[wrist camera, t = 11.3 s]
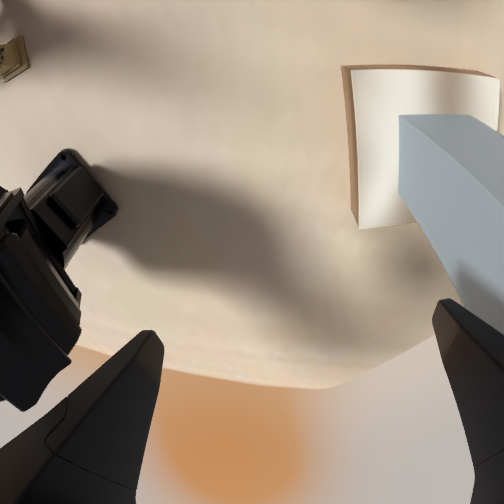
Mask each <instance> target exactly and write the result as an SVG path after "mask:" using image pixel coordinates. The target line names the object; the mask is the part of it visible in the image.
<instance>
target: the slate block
mask: <svg viewBox="0 0 504 504" xmlns="http://www.w3.org/2000/svg"><path fill="white" fill-rule="evenodd" d="M398 116H399V178H398V194H399V195H400V197H401V198H402V200H403V201H404V203H405V204H406V206H407V207H408V209H409V210H410V212H411V213H412V215H413V216H414V218H415V220H416V221H417V223H418V224H419V226H420V227H421V229H422V231H423V232H424V234H425V236H426V237H427V239H428V241H429V242H430V244H431V246H432V247H433V249H434V251H435V252H436V254H437V256H438V258H439V259H440V261H441V263H442V265H443V266H444V268H445V270H446V272H447V274H448V276H449V277H450V279H451V281H452V283H453V285H454V287H455V289H456V291H457V293H458V295H459V297H460V299H461V301H462V303H463V305H464V307H465V308H466V309H467V310H469V311H470V312H472V313H473V314H474V315H476V316H477V317H479V318H480V319H482V320H483V321H485V322H486V323H488V324H489V325H491V326H492V327H493V328H495V329H496V330H498V331H499V332H501V333H502V334H503V335H504V136H503V135H502V134H500V133H499V132H497V131H495V130H494V129H492V128H491V127H489V126H488V125H486V124H484V123H483V122H481V121H479V120H478V119H476V118H474V117H472V116H471V115H458V114H412V115H398Z"/></svg>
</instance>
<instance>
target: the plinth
mask: <svg viewBox="0 0 504 504" xmlns="http://www.w3.org/2000/svg"><path fill="white" fill-rule="evenodd" d="M341 70H342V78H343V87H344V96H345V106H346V117H347V129H348V143H349V160H350V182H351V210H352V212H353V214H354V217H355V219H356V222H357V224H358V227H359V229H367V228H375V227H384V226H392V225H400V224H408V223H417V221H416V220H415V218H414V216H413V215H412V213H411V212H410V210H409V209H408V207H407V206H406V204H405V203H404V201H403V200H402V198H401V197H400V195H399V194H398V178H399V116H398V115H412V114H458V115H471V116H472V117H474V118H476V119H478V120H479V121H481V122H483V123H484V124H486V125H488V126H489V127H491V128H492V129H494V130H495V131H497V128H498V115H499V96H500V79H498V78H496V77H493V76H490V75H487V74H485V73H482V72H479V71H472V70H465V69H456V68H446V67H433V66H416V65H351V66H341Z"/></svg>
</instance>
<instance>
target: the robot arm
mask: <svg viewBox="0 0 504 504" xmlns="http://www.w3.org/2000/svg"><path fill="white" fill-rule="evenodd" d="M63 154H64V155H65V156H66V158H65V157H64V156H63ZM109 208H110V209H112V210H113V211H111V210H110V209H109ZM117 212H118V207H117V206H116V204H115V203H114V202H113V201H112V200H111V199H110V198H109V196H108V195H107V194H106V193H105V192H104V191H103V190H102V189H101V187H100V186H99V185H98V184H97V183H96V182H95V180H94V179H93V178H92V177H91V176H90V175H89V173H88V172H87V171H86V170H85V169H84V168H83V166H82V165H81V164H80V163H79V162H78V160H77V159H76V158H75V157H74V156H73V154H72V153H71V152H70V151H69V150H67V149H63V150H62V151H61V152H59V154H58V155H57V156H56V157H55V158H54V159H53V160H52V162H51V163H50V164H49V165H48V166H47V167H46V169H45V170H44V171H43V172H42V173H41V175H40V176H39V177H38V178H37V180H36V181H35V182H34V183H33V185H32V186H31V187H30V188H29V190H28V191H27V193H26V195H25V196H24V193H23V191H22V189H21V188H18V189H16V190H13V191H10V192H8V190H5V189H4V188H2V187H1V186H0V402H1V401H5V400H7V401H9V402H10V403H11V404H12V405H14V406H15V407H16V408H18V409H19V410H20V411H22V412H23V411H26V410H28V409H29V408H31V407H32V406H34V405H35V404H36V403H37V402H38V400H39V398H40V397H41V395H42V393H43V391H44V390H45V388H46V387H47V385H48V384H49V382H50V381H51V380H52V379H53V378H54V377H55V376H56V375H57V373H58V372H60V371H61V370H63V369H64V368H65V367H67V366H68V365H69V364H71V359H70V358H69V357H68V355H69V353H70V352H71V350H72V349H73V347H74V346H75V344H76V343H77V341H78V339H79V336H80V334H81V330H82V329H81V327H80V326H79V325H80V317H81V311H80V301H81V292H80V291H79V289H78V288H77V287H75V285H74V284H73V282H72V281H71V279H70V278H69V276H68V275H67V273H66V272H65V268H66V267H67V265H68V264H69V262H70V260H71V259H72V257H73V256H74V254H75V252H76V251H77V249H78V248H79V246H80V245H81V243H82V242H83V240H84V239H86V238H87V237H88V236H90V235H91V234H92V233H93V232H95V231H96V230H97V229H98V228H100V227H101V226H102V225H104V224H105V223H106V222H108V221H109V220H110V219H111V218H113V217H114V216H115V215H116V214H117ZM432 323H433V328H434V331H435V335H436V339H437V342H438V346H439V350H440V354H441V358H442V362H443V365H444V368H445V371H446V373H447V376H448V379H449V382H450V385H451V388H452V391H453V394H454V397H455V400H456V403H457V406H458V410H459V413H460V416H461V420H462V423H463V427H464V430H465V434H466V438H467V442H468V445H469V450H470V453H471V458H472V462H473V466H474V472H475V482H474V488H473V494H472V498H471V502H470V504H504V335H503V334H502V333H501V332H499V331H498V330H496V329H495V328H493V327H492V326H491V325H489V324H488V323H486V322H485V321H483V320H482V319H480V318H479V317H477V316H476V315H474V314H473V313H472V312H470V311H469V310H467V309H466V308H464V307H463V306H461V305H460V304H458V303H456V302H455V301H453V300H452V299H450V298H447V299H442V300H439V301H438V303H437V306H436V308H435V311H434V314H433V318H432ZM163 358H164V345H163V343H162V342H161V340H160V339H159V337H158V336H157V334H156V333H155V331H153V330H143V331H141V332H140V333H139V334H137V335H136V336H135V337H134V338H133V339H132V340H131V341H129V342H128V343H127V344H126V345H125V346H124V347H123V348H121V349H120V350H119V351H118V352H117V353H116V354H115V355H113V356H112V357H111V358H110V359H109V360H108V361H107V362H105V363H104V364H103V365H102V366H101V367H100V368H99V369H98V370H96V371H95V372H94V373H93V374H92V375H91V376H90V377H88V378H87V379H86V380H85V381H84V382H83V383H82V384H80V385H79V386H78V387H77V388H76V389H75V390H74V391H73V392H71V393H70V394H69V395H68V397H65V398H64V399H63V400H62V401H61V402H60V403H59V404H57V405H56V406H55V407H54V408H53V409H52V410H50V411H49V412H48V413H47V414H46V415H44V416H43V417H42V418H40V419H39V420H38V421H36V422H35V423H34V424H32V425H31V426H30V427H28V428H27V429H26V430H24V431H23V432H22V433H20V434H19V435H18V436H17V437H15V438H14V439H12V440H11V441H10V442H9V443H7V444H6V445H4V446H3V447H2V448H0V504H136V499H135V496H136V489H137V485H138V480H139V475H140V470H141V465H142V460H143V456H144V451H145V447H146V442H147V438H148V433H149V429H150V425H151V421H152V416H153V412H154V408H155V404H156V400H157V396H158V392H159V387H160V380H161V373H162V365H163Z"/></svg>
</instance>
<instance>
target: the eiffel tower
mask: <svg viewBox="0 0 504 504" xmlns="http://www.w3.org/2000/svg"><path fill="white" fill-rule="evenodd" d="M29 67H30V66H29V62H28V58H27V54H26V50H25V46H24V41H23V37H22V35H21V36H19V37H17V38H16V39H13V40H11V41H10V42H8V43H7V44H5V45H0V79H1V78H3V79H4V83H5V82H7V81H8V80H10V79H11V78H13V77H14V76H16V75H17V74H19V73H21V72H22V71H24V70H25V69H27V68H29Z"/></svg>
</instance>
